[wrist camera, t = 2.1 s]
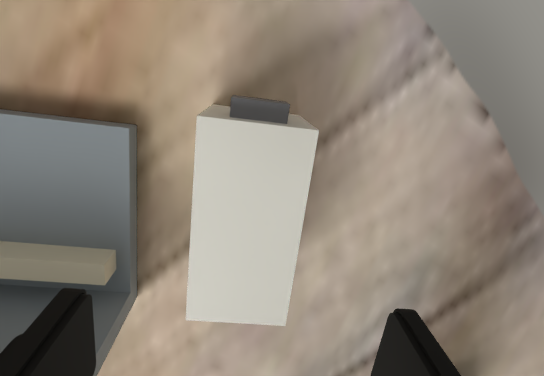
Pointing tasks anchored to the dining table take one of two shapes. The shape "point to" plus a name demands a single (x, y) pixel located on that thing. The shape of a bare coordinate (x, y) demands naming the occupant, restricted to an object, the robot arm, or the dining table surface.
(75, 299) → the robot arm
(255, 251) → the cream rectangular block
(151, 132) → the dining table surface
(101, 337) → the cleat board
